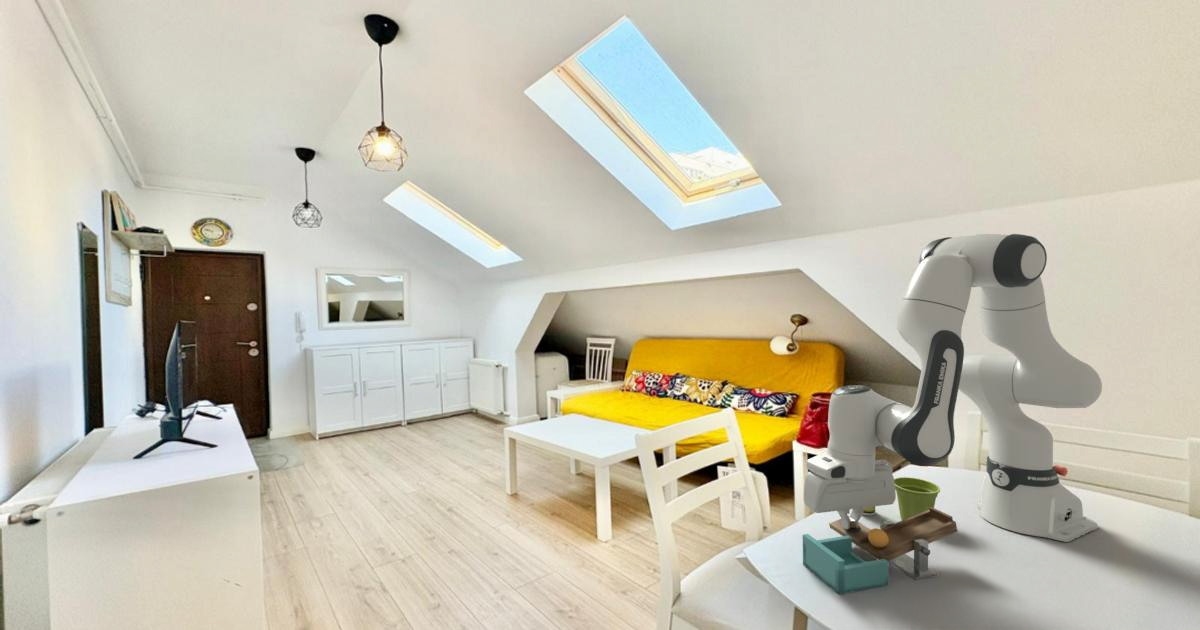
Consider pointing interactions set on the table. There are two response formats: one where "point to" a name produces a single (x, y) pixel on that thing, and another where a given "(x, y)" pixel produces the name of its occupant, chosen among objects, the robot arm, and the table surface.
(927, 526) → the lever
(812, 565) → the teal tray
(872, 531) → the ball
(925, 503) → the plant pot
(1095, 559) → the table surface
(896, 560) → the fulcrum
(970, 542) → the table surface
